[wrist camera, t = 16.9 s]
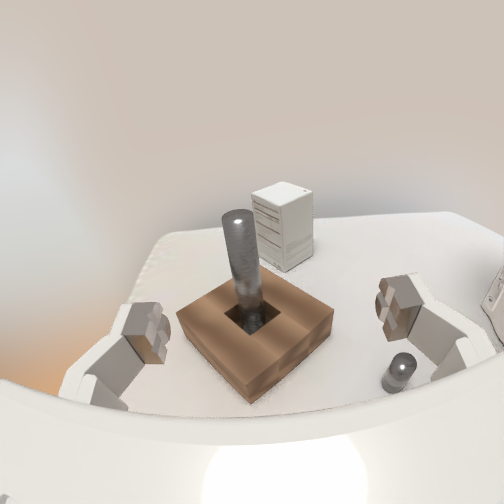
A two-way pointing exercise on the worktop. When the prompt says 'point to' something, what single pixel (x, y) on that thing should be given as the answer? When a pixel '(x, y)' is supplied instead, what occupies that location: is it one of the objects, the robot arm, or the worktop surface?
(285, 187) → the supplement box
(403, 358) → the short pin
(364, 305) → the worktop surface
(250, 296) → the long pin
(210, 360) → the collar block
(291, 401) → the worktop surface
